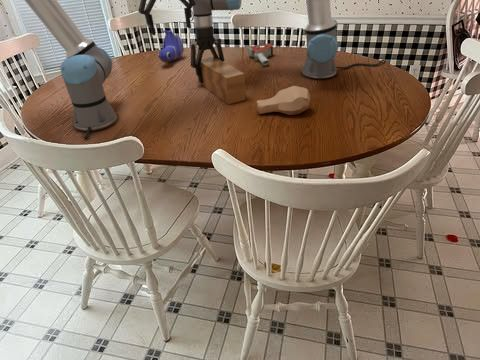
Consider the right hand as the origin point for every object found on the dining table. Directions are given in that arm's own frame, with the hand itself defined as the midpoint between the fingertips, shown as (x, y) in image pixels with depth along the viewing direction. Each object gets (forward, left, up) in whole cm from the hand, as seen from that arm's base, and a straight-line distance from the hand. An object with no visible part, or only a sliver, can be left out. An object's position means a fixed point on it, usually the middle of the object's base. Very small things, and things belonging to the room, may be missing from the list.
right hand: (209, 80), depth 159 cm
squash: (-27, +36, -1) cm, 45 cm away
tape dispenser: (-27, -27, -1) cm, 38 cm away
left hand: (+12, +18, +26) cm, 34 cm away
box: (-4, +10, -1) cm, 11 cm away
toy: (+19, -35, -1) cm, 40 cm away
